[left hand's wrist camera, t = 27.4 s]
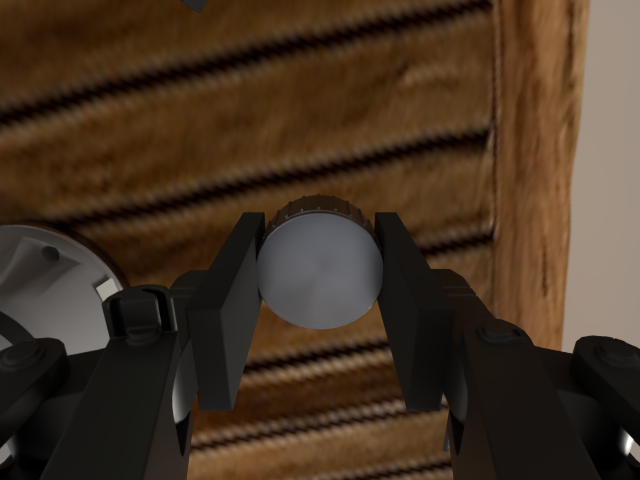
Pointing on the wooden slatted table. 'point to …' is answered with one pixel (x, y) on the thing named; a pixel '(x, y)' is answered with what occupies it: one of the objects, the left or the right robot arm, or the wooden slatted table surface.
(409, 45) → the wooden slatted table surface
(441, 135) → the wooden slatted table surface
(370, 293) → the cap
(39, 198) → the wooden slatted table surface
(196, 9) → the right robot arm
